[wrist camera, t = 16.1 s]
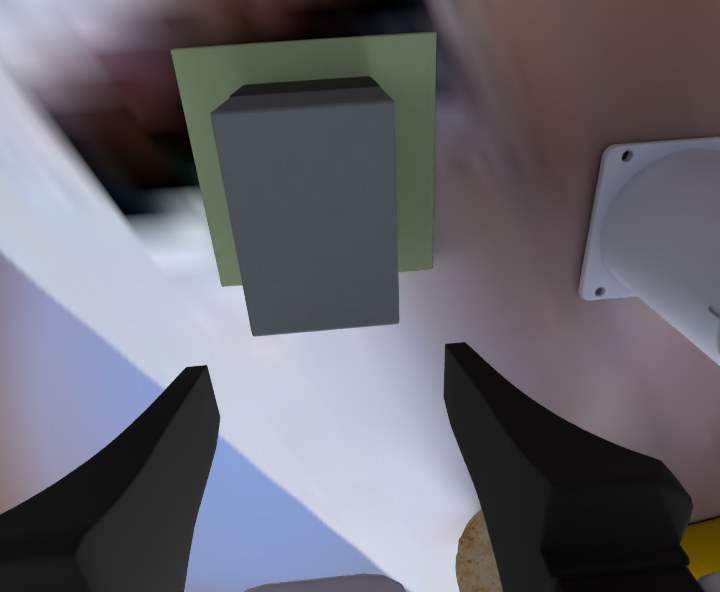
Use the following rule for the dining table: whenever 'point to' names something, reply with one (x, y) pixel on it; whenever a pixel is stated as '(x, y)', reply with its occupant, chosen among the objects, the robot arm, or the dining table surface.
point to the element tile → (703, 547)
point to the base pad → (313, 62)
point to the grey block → (312, 207)
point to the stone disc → (477, 559)
